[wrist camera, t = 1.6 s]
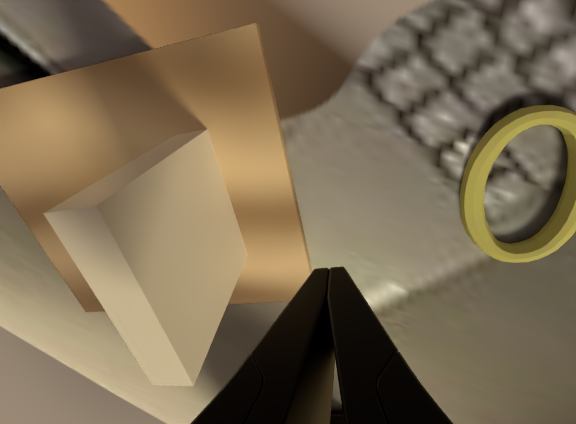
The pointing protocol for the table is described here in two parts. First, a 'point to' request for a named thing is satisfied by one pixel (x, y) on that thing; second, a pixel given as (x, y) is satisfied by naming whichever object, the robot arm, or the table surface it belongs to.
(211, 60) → the mat
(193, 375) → the tile
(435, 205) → the table surface
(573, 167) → the key
